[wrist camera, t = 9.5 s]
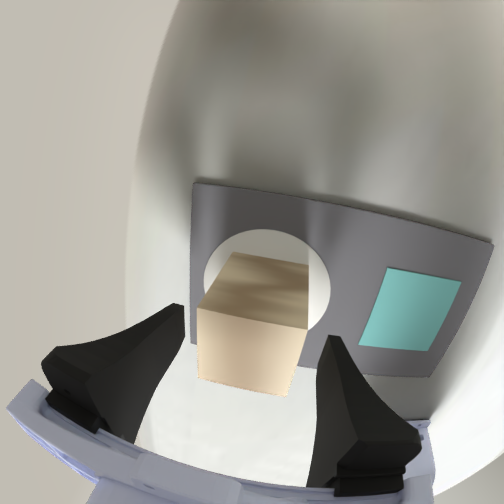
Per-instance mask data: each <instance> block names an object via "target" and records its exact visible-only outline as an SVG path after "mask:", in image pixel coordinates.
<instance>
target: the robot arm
mask: <svg viewBox="0 0 504 504" xmlns="http://www.w3.org/2000/svg"><path fill="white" fill-rule="evenodd" d="M184 338H185V322H184V306H183V305H179V304H175V303H172V304H171V305H169V306H167V307H165V308H164V309H162V310H161V311H159V312H157V313H156V314H154V315H152V316H150V317H149V318H147V319H145V320H144V321H142V322H140V323H138V324H136V325H134V326H132V327H130V328H128V329H126V330H124V331H121V332H119V333H116V334H114V335H111V336H108V337H105V338H102V339H99V340H95V341H91V342H87V343H82V344H76V345H67V346H57V347H55V348H54V349H53V350H52V351H51V352H50V353H49V354H48V355H47V356H46V357H45V358H44V359H43V360H42V362H41V366H42V369H43V372H44V374H45V376H46V378H47V380H48V381H49V383H50V385H51V386H52V388H53V390H52V391H51V392H50V393H49V391H48V390H47V389H45V388H44V387H43V386H41V385H40V384H39V383H37V382H36V381H35V380H33V379H31V380H30V381H29V382H28V383H27V384H26V385H25V386H24V387H23V389H22V390H21V391H20V392H19V393H18V394H17V395H16V397H15V398H14V399H13V400H12V401H11V402H10V404H9V405H8V406H7V407H6V409H7V411H8V412H9V413H10V414H11V416H12V417H13V418H14V419H15V420H16V422H17V423H18V424H19V425H20V426H21V427H22V429H23V430H24V431H25V432H26V433H27V434H28V435H29V436H30V437H31V438H33V439H34V440H35V441H36V442H37V443H38V444H40V445H41V446H42V447H44V448H45V449H46V450H47V451H49V452H50V453H51V454H52V455H54V456H55V457H56V458H58V459H59V460H60V461H62V462H63V463H64V464H66V465H67V466H69V467H70V468H71V469H73V470H75V471H76V472H77V473H79V474H80V475H82V476H83V477H85V478H86V479H88V480H90V481H92V482H93V483H95V484H96V487H95V489H94V490H93V492H92V494H91V496H90V497H89V499H88V501H87V503H86V504H434V498H433V489H432V485H433V483H434V479H435V463H434V457H433V452H432V447H431V443H430V438H429V433H428V429H427V427H428V426H429V425H430V423H431V422H430V420H417V421H405V420H403V419H402V418H401V417H400V416H398V415H397V414H396V413H395V412H394V411H393V410H391V409H390V408H389V407H388V406H387V405H386V404H385V403H384V402H383V401H382V400H381V399H380V397H379V396H378V395H377V394H376V393H375V392H374V390H373V389H372V388H371V387H370V385H369V384H368V383H367V381H366V380H365V378H364V377H363V375H362V374H361V372H360V371H359V369H358V368H357V366H356V364H355V362H354V361H353V359H352V357H351V355H350V353H349V352H348V350H347V348H346V346H345V344H344V342H343V340H342V338H341V337H340V336H335V335H328V337H327V340H326V342H325V345H324V348H323V351H322V353H321V356H320V359H319V361H318V364H317V375H316V404H317V424H316V434H315V442H314V448H313V455H312V461H311V466H310V471H309V476H308V480H307V484H306V487H296V486H286V485H277V484H270V483H263V482H257V481H251V480H246V479H241V478H236V477H231V476H227V475H222V474H218V473H214V472H211V471H207V470H203V469H200V468H196V467H193V466H190V465H186V464H183V463H180V462H177V461H174V460H171V459H169V458H166V457H163V456H160V455H158V454H155V453H153V452H150V451H148V450H145V449H143V448H140V447H138V446H136V445H134V442H135V439H136V436H137V433H138V430H139V428H140V425H141V422H142V420H143V417H144V414H145V412H146V410H147V407H148V405H149V403H150V400H151V398H152V396H153V394H154V392H155V389H156V388H157V386H158V384H159V382H160V381H161V379H162V377H163V376H164V374H165V372H166V371H167V369H168V368H169V366H170V365H171V363H172V361H173V360H174V358H175V356H176V355H177V353H178V351H179V349H180V347H181V345H182V342H183V340H184Z"/></svg>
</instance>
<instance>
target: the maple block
mask: <svg viewBox="0 0 504 504" xmlns="http://www.w3.org/2000/svg"><path fill="white" fill-rule="evenodd" d="M308 307H309V265H305V264H300V263H294V262H288V261H283V260H277V259H272V258H266V257H260V256H255V255H249V254H244V253H238V252H232V254H231V255H230V257H229V258H228V260H227V261H226V263H225V265H224V266H223V268H222V269H221V271H220V272H219V274H218V275H217V277H216V278H215V280H214V282H213V283H212V285H211V286H210V288H209V289H208V291H207V292H206V294H205V296H204V297H203V299H202V300H201V302H200V303H199V305H198V307H197V363H198V378H200V379H204V380H208V381H211V382H215V383H219V384H223V385H228V386H232V387H236V388H241V389H245V390H250V391H255V392H260V393H265V394H271V395H277V396H283V397H286V396H287V393H288V391H289V388H290V385H291V382H292V379H293V376H294V373H295V370H296V367H297V364H298V361H299V357H300V354H301V351H302V348H303V345H304V341H305V338H306V335H307V331H308Z"/></svg>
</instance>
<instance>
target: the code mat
mask: <svg viewBox="0 0 504 504" xmlns="http://www.w3.org/2000/svg"><path fill="white" fill-rule="evenodd" d="M493 248H494V245H493V244H491V243H488V242H485V241H482V240H479V239H475V238H472V237H469V236H465V235H462V234H459V233H455V232H452V231H448V230H444V229H441V228H437V227H433V226H430V225H426V224H422V223H418V222H414V221H410V220H406V219H402V218H398V217H394V216H390V215H385V214H381V213H376V212H372V211H367V210H363V209H358V208H353V207H349V206H344V205H339V204H334V203H328V202H323V201H318V200H312V199H307V198H301V197H295V196H289V195H283V194H277V193H271V192H264V191H258V190H251V189H244V188H236V187H229V186H221V185H213V184H204V183H193V192H192V212H191V239H190V337H191V343H192V344H196V345H197V307H198V305H199V303H200V302H201V300H202V299H203V297H204V296H205V294H206V292H207V291H208V289H209V288H210V286H211V285H212V283H213V282H214V280H215V278H216V277H217V275H218V274H219V272H220V271H221V269H222V268H223V266H224V265H225V263H226V261H227V260H228V258H229V257H230V255H231V254H232V252H238V253H244V254H249V255H255V256H260V257H266V258H272V259H277V260H283V261H288V262H294V263H300V264H305V265H309V307H308V331H307V335H306V338H305V341H304V345H303V348H302V351H301V354H300V357H299V361H298V364H297V366H300V367H307V368H314V369H317V364H318V361H319V359H320V356H321V353H322V351H323V348H324V345H325V342H326V340H327V337H328V335H335V336H340V337H341V338H342V340H343V342H344V344H345V346H346V348H347V350H348V352H349V353H350V355H351V357H352V359H353V361H354V362H355V364H356V366H357V368H358V369H359V371H360V372H361V374H368V375H381V376H399V377H430V375H431V374H432V372H433V371H434V369H435V368H436V366H437V365H438V363H439V362H440V360H441V358H442V357H443V355H444V353H445V352H446V350H447V348H448V347H449V345H450V343H451V342H452V340H453V338H454V336H455V335H456V333H457V331H458V329H459V327H460V325H461V323H462V321H463V320H464V318H465V316H466V314H467V312H468V310H469V307H470V305H471V303H472V301H473V299H474V297H475V295H476V292H477V290H478V288H479V285H480V283H481V281H482V278H483V276H484V273H485V270H486V268H487V265H488V263H489V260H490V257H491V254H492V251H493Z"/></svg>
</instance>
